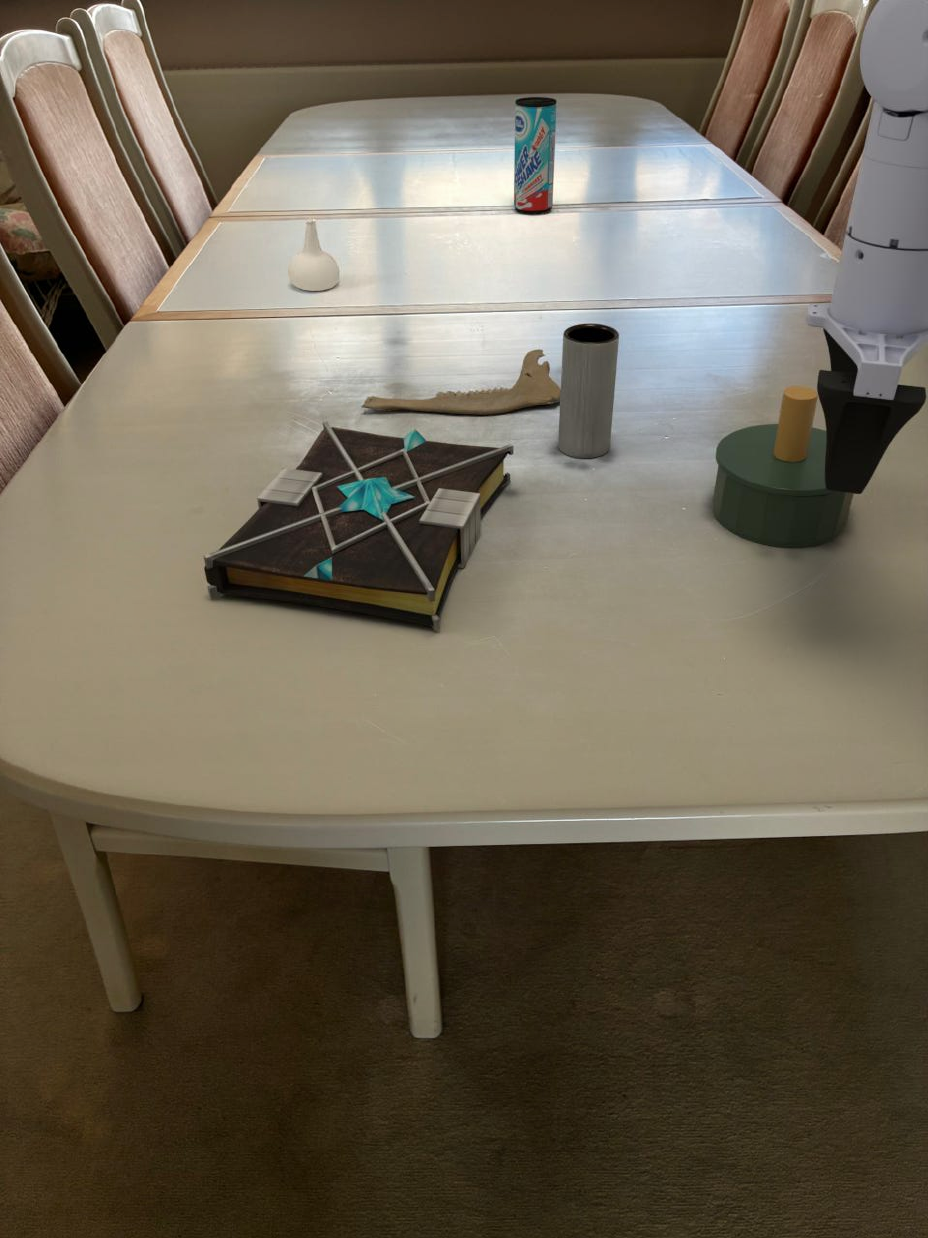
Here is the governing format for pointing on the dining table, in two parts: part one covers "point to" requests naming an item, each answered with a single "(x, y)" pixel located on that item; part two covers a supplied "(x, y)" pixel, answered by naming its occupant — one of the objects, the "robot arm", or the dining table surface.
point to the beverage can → (534, 154)
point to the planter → (587, 389)
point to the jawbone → (486, 394)
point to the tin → (779, 514)
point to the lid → (780, 450)
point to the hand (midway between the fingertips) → (844, 460)
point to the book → (364, 525)
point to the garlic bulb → (313, 264)
